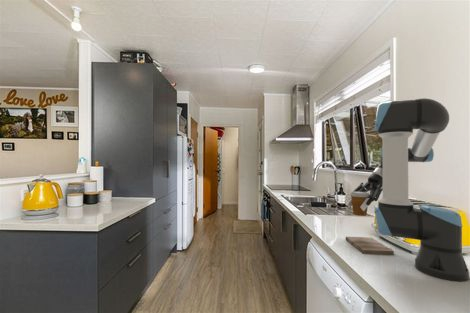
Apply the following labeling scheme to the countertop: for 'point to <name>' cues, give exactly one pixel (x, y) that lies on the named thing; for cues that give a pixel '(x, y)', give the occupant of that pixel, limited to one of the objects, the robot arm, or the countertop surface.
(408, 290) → the countertop surface
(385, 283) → the countertop surface
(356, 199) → the disposable coffee cup
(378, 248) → the walnut board
